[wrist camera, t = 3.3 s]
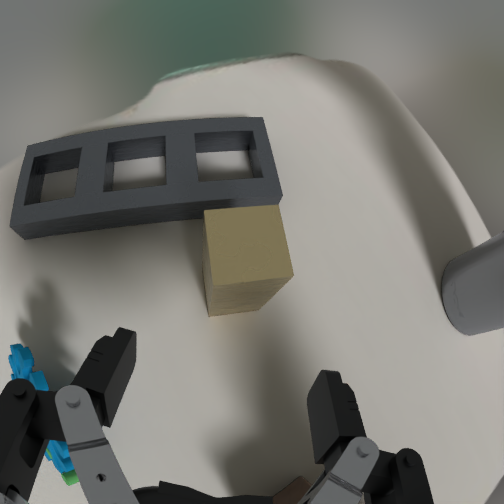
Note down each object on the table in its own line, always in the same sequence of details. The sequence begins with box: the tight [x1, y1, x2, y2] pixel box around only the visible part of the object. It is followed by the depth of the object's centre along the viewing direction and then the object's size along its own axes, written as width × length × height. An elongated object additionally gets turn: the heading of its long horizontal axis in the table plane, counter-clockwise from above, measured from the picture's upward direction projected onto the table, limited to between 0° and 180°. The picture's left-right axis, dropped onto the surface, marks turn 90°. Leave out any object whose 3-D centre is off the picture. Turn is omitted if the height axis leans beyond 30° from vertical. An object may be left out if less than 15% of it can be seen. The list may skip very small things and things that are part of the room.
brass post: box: [202, 205, 294, 317], centre depth 20 cm, size 4×4×10 cm
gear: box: [8, 344, 79, 486], centre depth 17 cm, size 11×6×10 cm
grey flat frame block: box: [10, 117, 283, 240], centre depth 26 cm, size 24×9×3 cm, turn 100°
